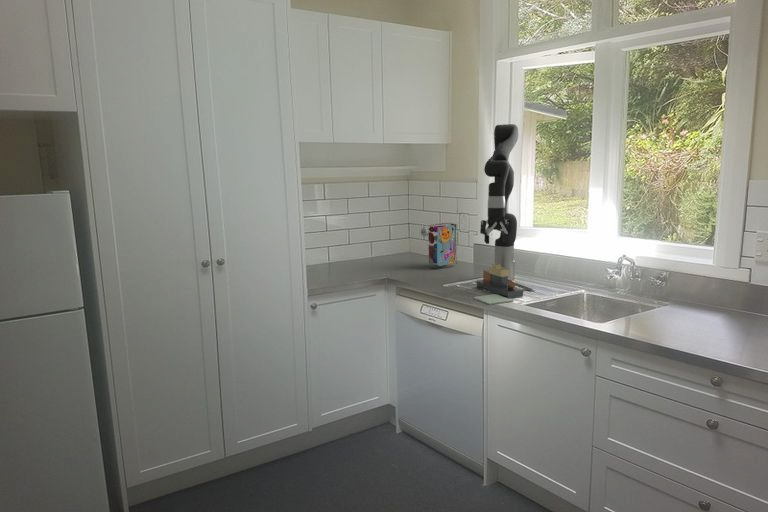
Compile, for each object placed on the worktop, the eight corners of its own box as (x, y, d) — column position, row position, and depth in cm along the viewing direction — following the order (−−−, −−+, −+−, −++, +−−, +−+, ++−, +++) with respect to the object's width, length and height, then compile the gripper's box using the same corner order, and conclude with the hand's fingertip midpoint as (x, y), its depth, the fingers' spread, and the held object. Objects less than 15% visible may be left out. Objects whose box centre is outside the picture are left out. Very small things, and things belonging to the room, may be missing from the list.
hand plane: (490, 285, 264) (491, 269, 262) (523, 296, 242) (523, 278, 241) (476, 287, 261) (477, 270, 259) (507, 298, 239) (508, 280, 238)
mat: (496, 295, 245) (496, 294, 245) (513, 301, 234) (513, 300, 234) (473, 298, 240) (473, 297, 240) (489, 304, 229) (489, 303, 229)
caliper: (495, 285, 265) (495, 272, 264) (496, 285, 266) (496, 272, 265) (534, 292, 251) (534, 278, 250) (535, 291, 252) (536, 278, 251)
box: (424, 272, 296) (424, 226, 292) (416, 270, 301) (416, 225, 297) (457, 266, 311) (457, 223, 307) (449, 264, 316) (449, 222, 312)
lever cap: (498, 272, 255) (498, 263, 254) (510, 275, 247) (510, 266, 246) (489, 273, 253) (489, 264, 252) (500, 276, 245) (501, 267, 244)
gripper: (506, 205, 250) (505, 241, 253) (477, 206, 246) (477, 242, 248) (515, 206, 243) (514, 243, 246) (486, 207, 239) (485, 245, 241)
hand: (495, 243), depth 247 cm, fingers open, 8 cm apart
